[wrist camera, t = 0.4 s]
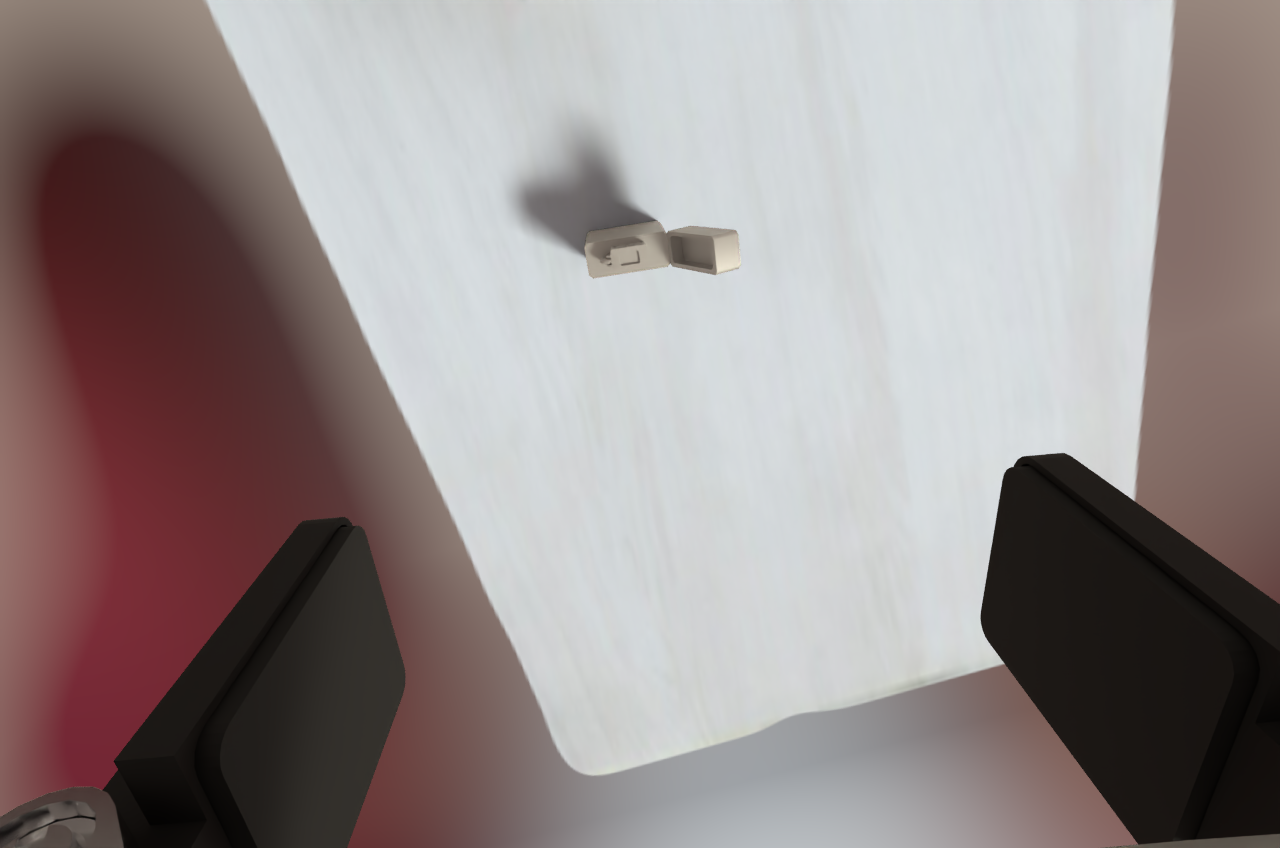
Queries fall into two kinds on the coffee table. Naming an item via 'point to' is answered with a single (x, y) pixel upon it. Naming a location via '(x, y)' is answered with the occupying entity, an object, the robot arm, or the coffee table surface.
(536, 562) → the coffee table surface
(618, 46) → the coffee table surface
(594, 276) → the lighter
